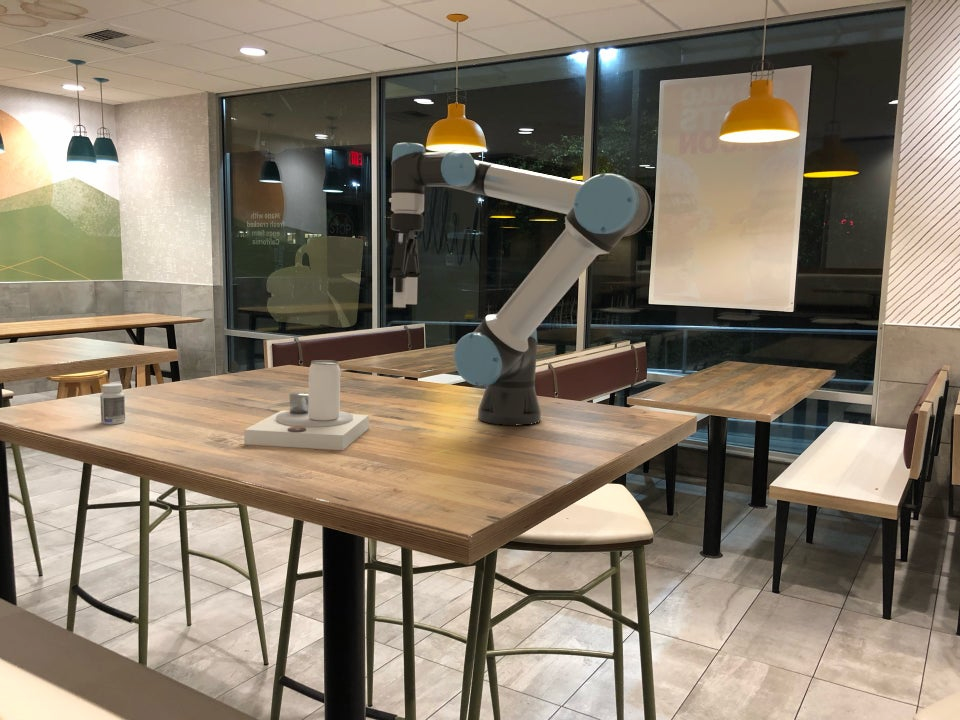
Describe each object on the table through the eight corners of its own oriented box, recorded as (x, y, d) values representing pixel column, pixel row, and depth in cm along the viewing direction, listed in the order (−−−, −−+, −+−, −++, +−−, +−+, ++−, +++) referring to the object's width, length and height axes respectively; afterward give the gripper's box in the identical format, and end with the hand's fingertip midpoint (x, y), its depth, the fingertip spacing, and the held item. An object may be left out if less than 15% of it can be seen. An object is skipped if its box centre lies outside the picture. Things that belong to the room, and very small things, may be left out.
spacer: (313, 410, 165) (313, 392, 164) (306, 414, 160) (306, 396, 160) (293, 409, 165) (293, 391, 165) (286, 413, 161) (286, 395, 160)
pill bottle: (130, 421, 164) (129, 384, 163) (111, 425, 160) (110, 387, 159) (115, 419, 166) (113, 382, 165) (96, 423, 162) (94, 384, 161)
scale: (369, 427, 166) (370, 411, 166) (342, 450, 146) (343, 432, 145) (283, 422, 168) (283, 406, 168) (244, 444, 148) (244, 426, 147)
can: (332, 422, 153) (333, 364, 152) (303, 420, 155) (303, 362, 153) (344, 416, 160) (345, 361, 158) (315, 414, 161) (316, 359, 159)
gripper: (402, 216, 184) (400, 302, 187) (378, 208, 159) (376, 307, 162) (432, 217, 183) (430, 303, 186) (412, 209, 159) (410, 309, 161)
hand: (405, 305), depth 174 cm, fingers open, 13 cm apart
